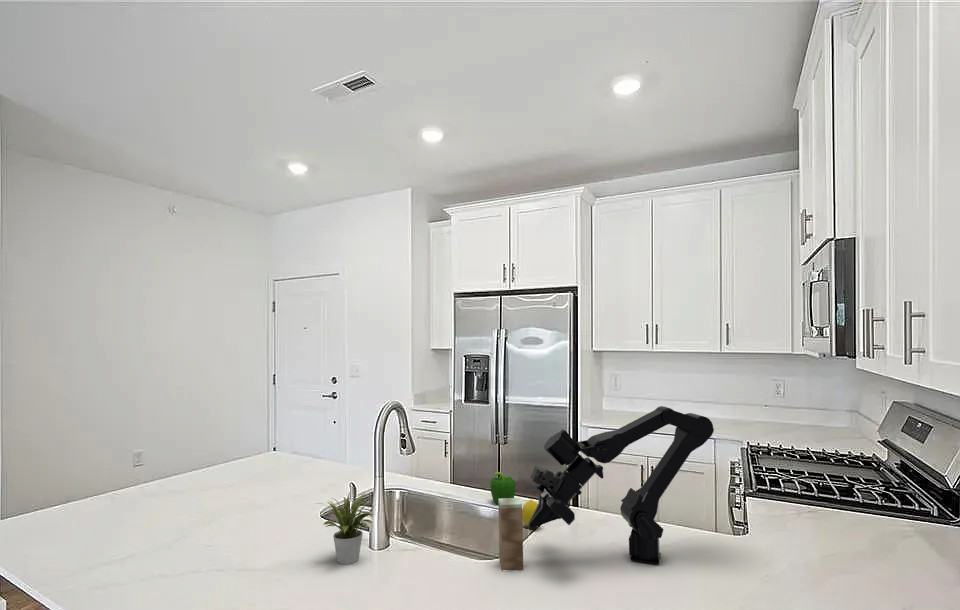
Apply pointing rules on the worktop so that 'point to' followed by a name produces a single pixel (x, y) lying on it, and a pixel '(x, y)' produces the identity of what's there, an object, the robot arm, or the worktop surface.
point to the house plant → (348, 530)
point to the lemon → (528, 511)
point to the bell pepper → (502, 487)
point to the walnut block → (510, 534)
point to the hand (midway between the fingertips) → (529, 526)
